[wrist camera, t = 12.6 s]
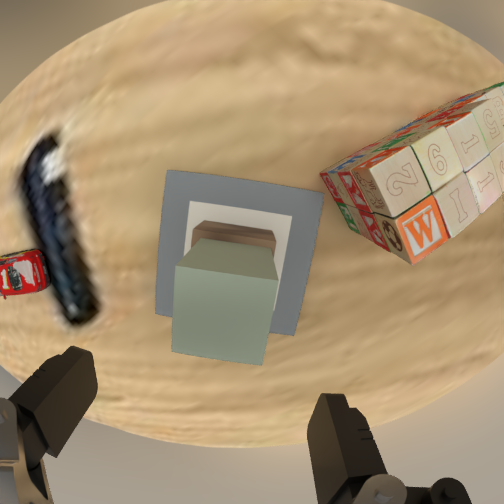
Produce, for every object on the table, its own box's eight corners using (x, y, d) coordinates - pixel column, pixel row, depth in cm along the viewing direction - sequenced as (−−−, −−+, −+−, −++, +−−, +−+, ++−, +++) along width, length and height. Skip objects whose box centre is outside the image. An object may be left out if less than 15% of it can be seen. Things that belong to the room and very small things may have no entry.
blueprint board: (321, 192, 25) (340, 196, 20) (292, 330, 29) (301, 364, 23) (170, 170, 25) (147, 167, 19) (158, 309, 28) (138, 338, 22)
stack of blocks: (460, 95, 22) (533, 73, 10) (482, 143, 24) (557, 139, 12) (317, 173, 25) (368, 168, 13) (349, 231, 26) (414, 268, 14)
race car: (0, 292, 29) (-17, 301, 25) (-9, 256, 28) (-28, 263, 24) (57, 289, 28) (37, 302, 24) (46, 245, 27) (25, 254, 23)
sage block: (270, 248, 21) (278, 280, 14) (259, 311, 22) (262, 365, 15) (200, 237, 20) (175, 265, 14) (194, 302, 22) (171, 351, 15)
